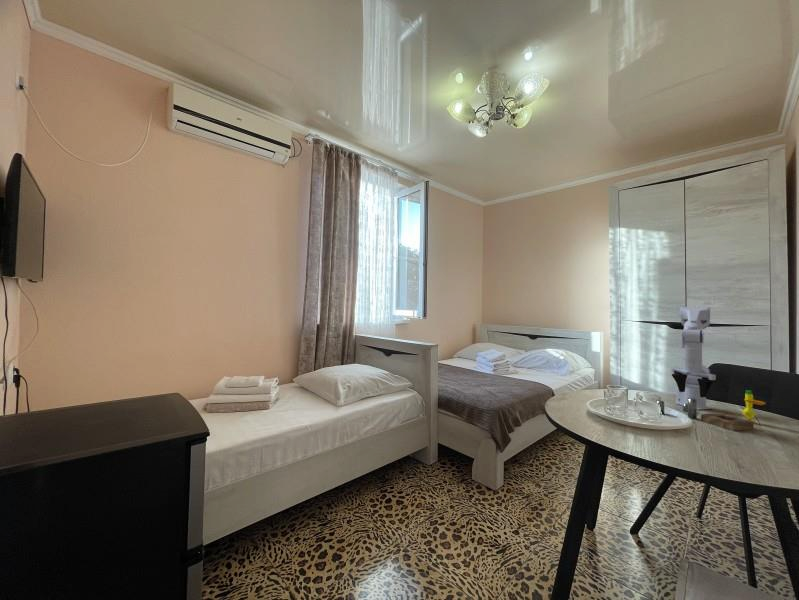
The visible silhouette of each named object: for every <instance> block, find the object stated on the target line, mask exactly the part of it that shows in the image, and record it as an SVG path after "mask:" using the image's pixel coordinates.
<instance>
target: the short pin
mask: <svg viewBox="0 0 799 600" xmlns="http://www.w3.org/2000/svg"><path fill="white" fill-rule="evenodd" d="M682 411H683V412H685V413H688V404H687V403H683V405H682Z"/></svg>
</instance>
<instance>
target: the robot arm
mask: <svg viewBox="0 0 799 600" xmlns="http://www.w3.org/2000/svg"><path fill="white" fill-rule="evenodd" d="M679 314H680V317H679V318H680V322H681V325H682V326H683V330H681V332H680V340H681V347H682V365H681V366H680V367H671V370H670V371H671V373H672V374H671V376H672V378H673V379H674V381H675V383H676V386H677V387H676V391H675V393H676V399H675V404H677V405H679V406H683V403H687V404H688V398H693V399H697V411H698V410H699V411H700V410H701V411H702V410H711V409H713V407H711V406H707V396H708V393H709V390H710V389H711V387H712V385H713V384H714V383H715V381H716V378H717V377H716V374H713V373H710V372H711V370H710V369H709V368H708V367H706V366H705V365H704V364H703V345H704V343H705V342H704V341H705V336H704V329H705V328H708V327H710V324H711V307H709V306H707V307H706V306H681V307H680V312H679Z"/></svg>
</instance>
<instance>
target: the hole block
mask: <svg viewBox="0 0 799 600" xmlns="http://www.w3.org/2000/svg"><path fill="white" fill-rule="evenodd" d="M700 421H701V422H704V423H707V424H710V425H714V426H716V427H720V428H722V429H725V430H729V431H743V429H745V430H753V429H754V425H755V424H753V421H754V420H751V421H749V420H748V419H746V418H745V419H744V418H742V417H738V416H734V415H731V414H727V413H724V412H714V413H713V412H712V413H701V414H700Z"/></svg>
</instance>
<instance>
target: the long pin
mask: <svg viewBox="0 0 799 600" xmlns="http://www.w3.org/2000/svg"><path fill="white" fill-rule="evenodd" d="M688 417H689V418H688ZM687 418H688V419H690V418H691V420H697V419H698V410H697V399H693V398H688V412H687Z"/></svg>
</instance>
